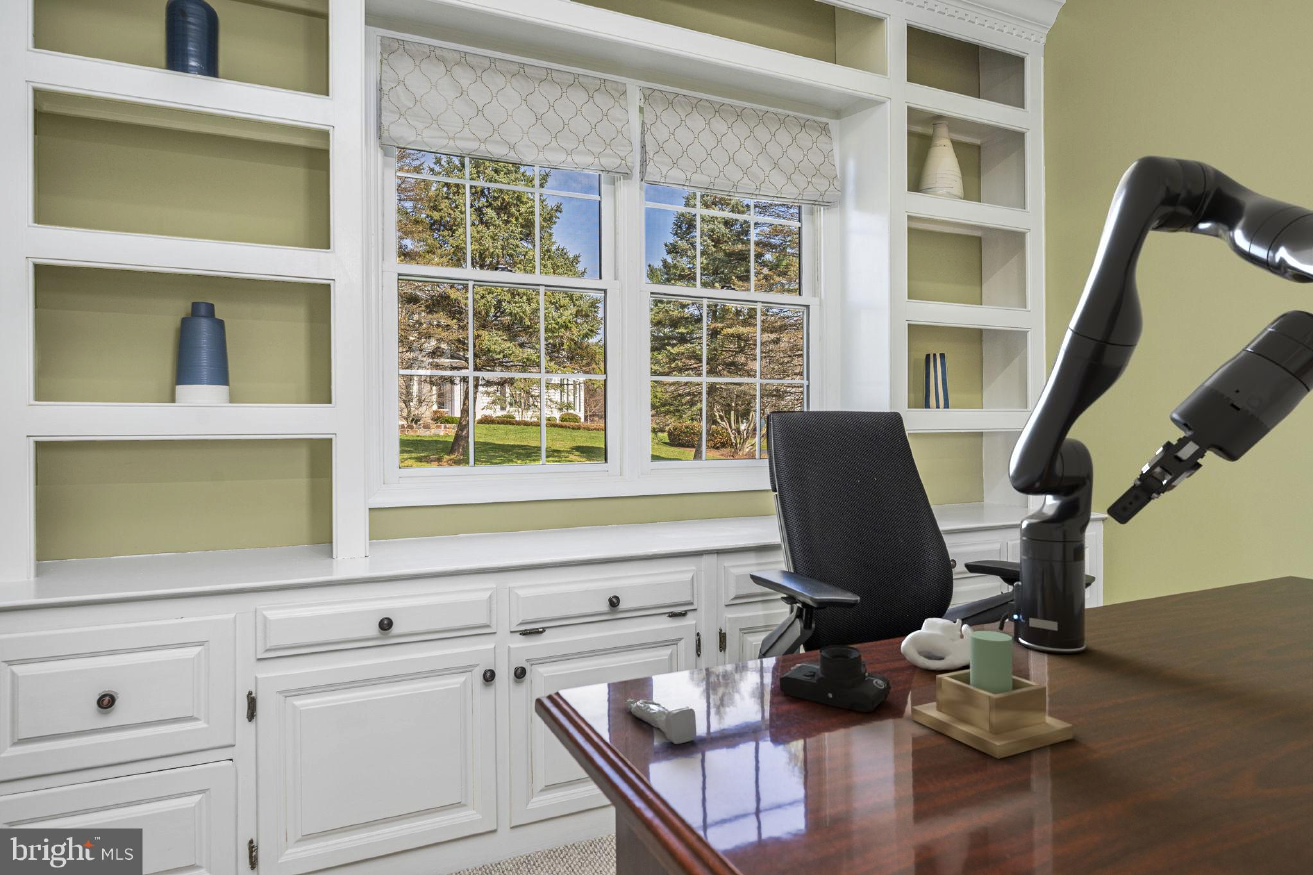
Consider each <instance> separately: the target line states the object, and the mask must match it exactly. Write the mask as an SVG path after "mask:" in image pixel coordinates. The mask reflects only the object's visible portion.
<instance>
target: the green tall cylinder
mask: <svg viewBox="0 0 1313 875" xmlns="http://www.w3.org/2000/svg"><path fill="white" fill-rule="evenodd" d="M969 669H970V686H973V687H976V688H978V689H981V690H984V691H987V692H989V693H992V694H994V695H995V694H999V693H1004V692H1009V691H1012V675H1013V637H1012V636H1011V635H1009V634H1007V633H1003V632H998V631H994V630H993V631H992V630H976V631H975V630H974V631H973V632H972V633H971V634H970V666H969Z"/></svg>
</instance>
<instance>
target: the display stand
mask: <svg viewBox="0 0 1313 875" xmlns="http://www.w3.org/2000/svg"><path fill="white" fill-rule="evenodd" d="M935 678H936V679H935V684H936V685H935V701H934V702H933V701H932V702H928V703H924V704H919V705H915V706H912V707H911V720H912V721H915V722H916V723H919V724H921V725H924V726H926V727H928V728H930V729H932V730H934V731H937V732H939V733H941V734H943V735H945V736H948V737H950V738H952V739H954V740H956V741H958V742H960V743H963V744H965V745H967V746H969V747H971V748H973V749H975V750H978V751H980V752H982V753H985V754H987V755H989V756H991V757H993V758H994V759H998V760H999V759H1002V758H1006V757H1010V756H1014V755H1017V754H1021V753H1025V752H1028V751H1032V750H1035V749H1036V750H1037V749H1039V748H1042V747H1046V746H1050V745H1054V744H1057V743H1061V742H1064V741H1068V740H1072V739H1074V725H1073V724H1071V723H1068V722H1065V721H1063V720H1060V719H1057V718H1054V717H1052V716H1049V715H1047V686H1046V685H1043V684H1039V683H1037V682H1034V681H1032V680H1028V679H1025V678H1022V677H1018V676H1016V675H1013V674H1012V691H1009V692H1004V693H999V694H995V695H994V694H992V693H989V692H987V691H984V690H981V689H978V688H976V687H973V686H970V668H969V669H964V670H958V671H951V672H948V673H943V674H937V675H936V677H935Z"/></svg>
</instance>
